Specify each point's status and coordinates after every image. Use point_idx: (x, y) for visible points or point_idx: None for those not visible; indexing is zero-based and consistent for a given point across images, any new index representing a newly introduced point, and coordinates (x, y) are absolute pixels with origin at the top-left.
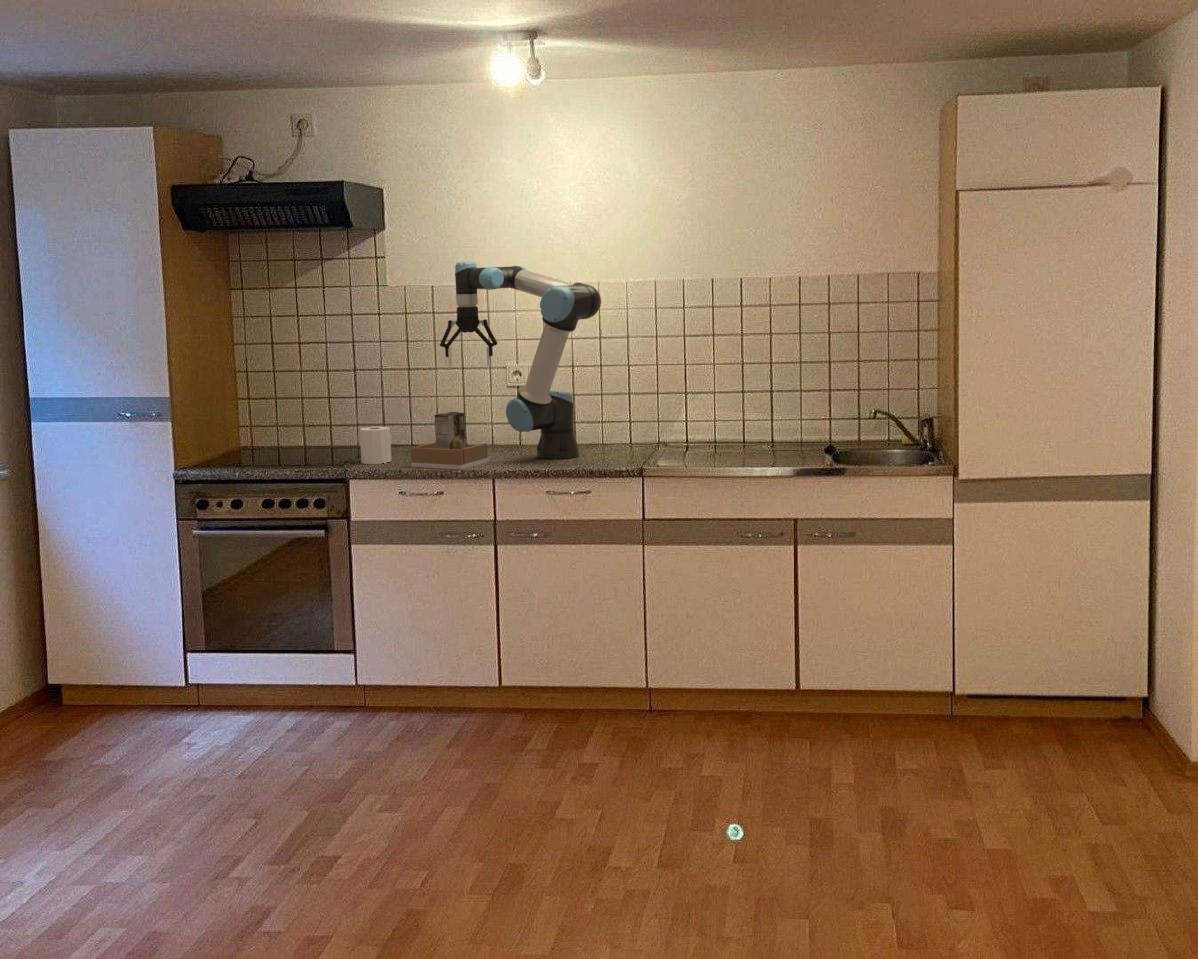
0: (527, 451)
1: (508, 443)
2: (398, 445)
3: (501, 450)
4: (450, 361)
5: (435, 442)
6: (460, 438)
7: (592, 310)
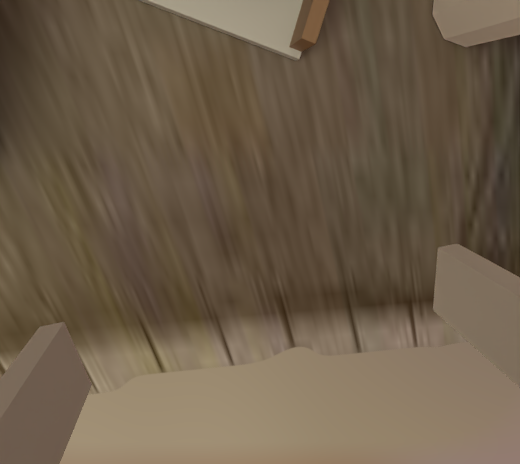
0: (76, 226)
1: (186, 350)
2: None
3: (162, 240)
4: (482, 270)
5: (318, 5)
6: None
7: None
